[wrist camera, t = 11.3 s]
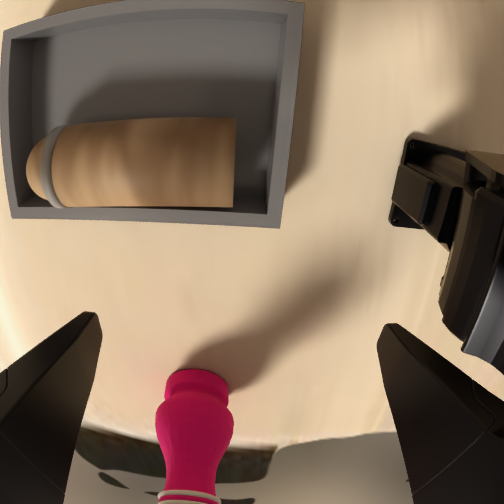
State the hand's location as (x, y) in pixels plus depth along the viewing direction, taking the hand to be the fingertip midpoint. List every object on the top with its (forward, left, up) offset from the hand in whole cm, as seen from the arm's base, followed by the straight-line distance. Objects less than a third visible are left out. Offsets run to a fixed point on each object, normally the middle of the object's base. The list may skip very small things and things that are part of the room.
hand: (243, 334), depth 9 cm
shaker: (0, -3, -10) cm, 10 cm away
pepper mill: (+3, +20, -13) cm, 24 cm away
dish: (+6, -5, -13) cm, 16 cm away
